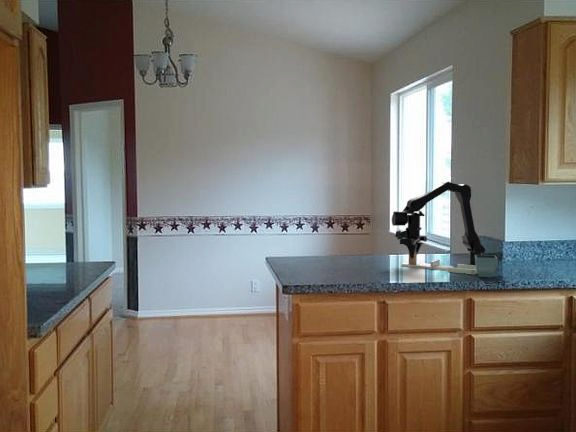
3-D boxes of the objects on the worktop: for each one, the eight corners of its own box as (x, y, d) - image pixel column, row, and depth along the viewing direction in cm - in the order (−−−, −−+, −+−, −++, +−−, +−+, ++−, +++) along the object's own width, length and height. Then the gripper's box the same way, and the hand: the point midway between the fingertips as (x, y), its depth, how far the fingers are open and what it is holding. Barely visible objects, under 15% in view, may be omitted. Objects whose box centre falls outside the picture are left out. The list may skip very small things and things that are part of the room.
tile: (439, 267, 299) (439, 264, 299) (453, 269, 295) (453, 266, 295) (433, 269, 293) (433, 266, 293) (447, 271, 289) (447, 268, 289)
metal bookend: (401, 265, 302) (401, 249, 301) (408, 263, 309) (408, 247, 308) (432, 269, 293) (433, 252, 292) (439, 267, 299) (439, 250, 299)
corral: (458, 268, 297) (458, 263, 296) (483, 270, 290) (483, 266, 289) (447, 271, 286) (447, 267, 286) (473, 274, 279) (473, 270, 279)
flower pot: (497, 278, 268) (497, 258, 268) (475, 278, 270) (476, 257, 269) (494, 275, 277) (495, 255, 276) (473, 274, 279) (474, 254, 278)
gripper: (406, 223, 314) (406, 254, 315) (389, 225, 298) (389, 258, 300) (427, 224, 307) (427, 256, 308) (411, 227, 292) (410, 260, 293)
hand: (413, 257), depth 303 cm, fingers closed on metal bookend, 3 cm apart
